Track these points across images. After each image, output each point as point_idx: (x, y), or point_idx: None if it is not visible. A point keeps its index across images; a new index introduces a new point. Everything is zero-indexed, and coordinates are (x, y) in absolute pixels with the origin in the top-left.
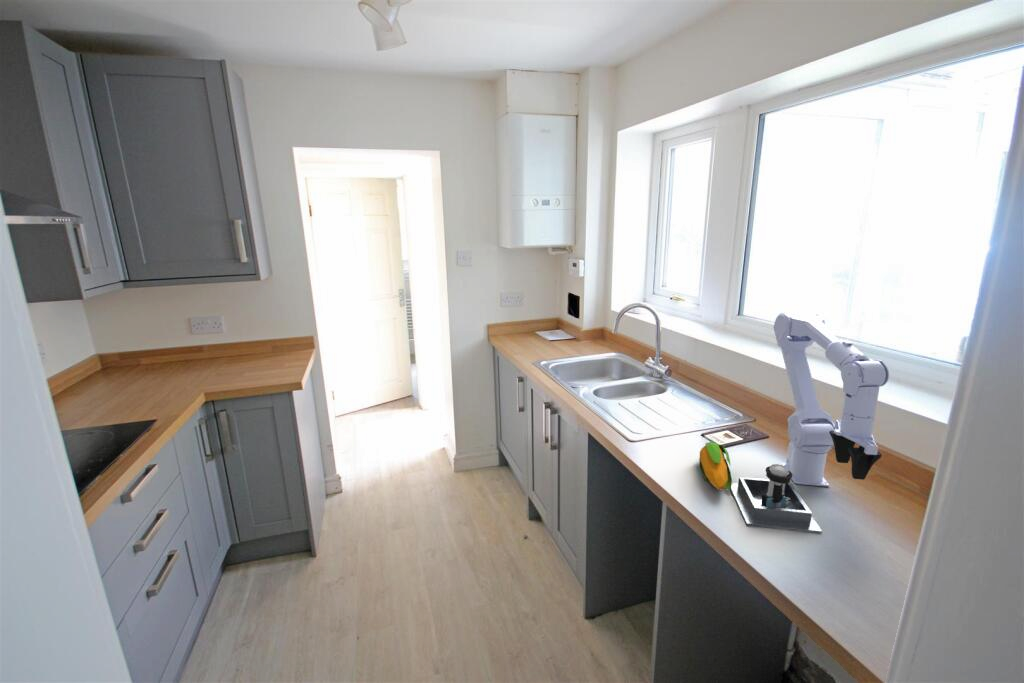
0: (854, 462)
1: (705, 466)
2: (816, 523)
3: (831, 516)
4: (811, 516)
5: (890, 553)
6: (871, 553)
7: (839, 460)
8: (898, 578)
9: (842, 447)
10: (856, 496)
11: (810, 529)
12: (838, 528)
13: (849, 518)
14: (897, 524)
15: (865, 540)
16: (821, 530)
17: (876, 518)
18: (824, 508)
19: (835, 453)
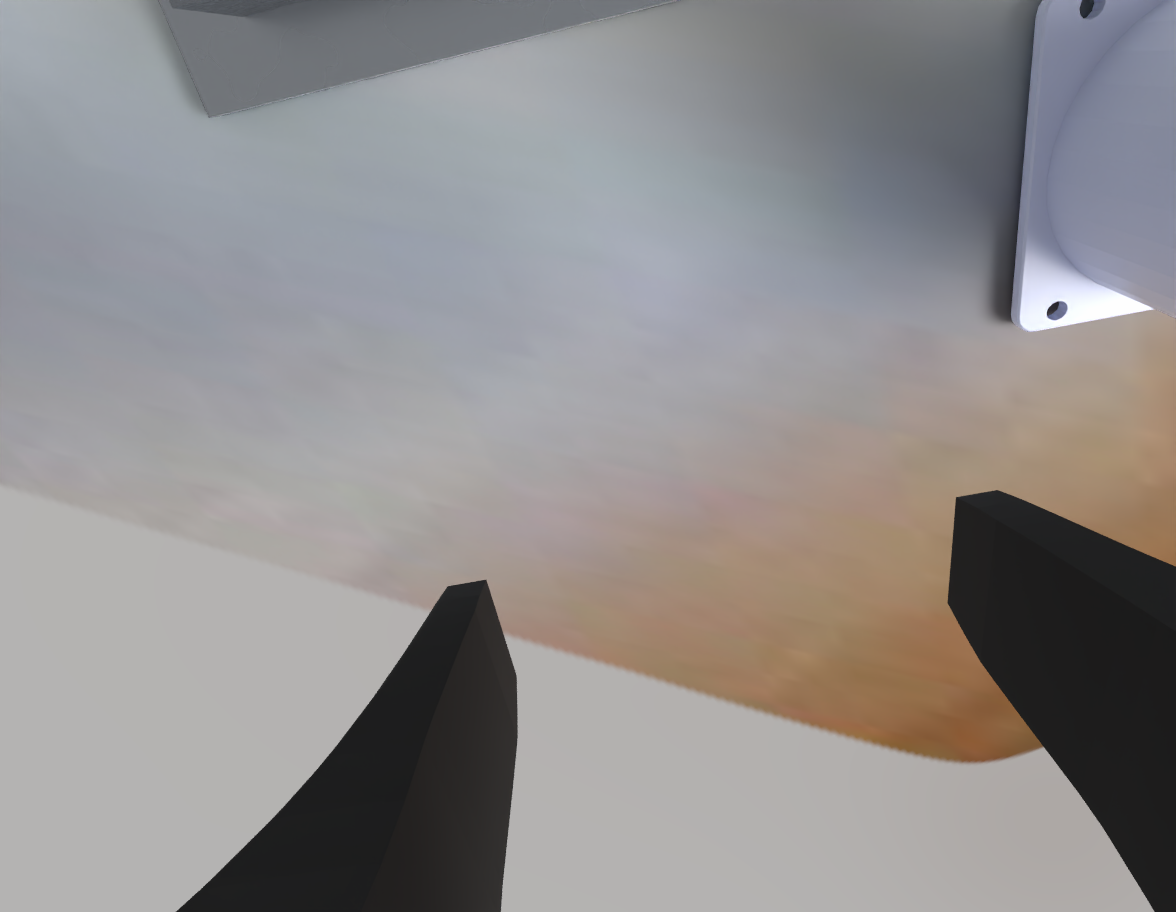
0: (272, 824)
1: None
2: (305, 88)
3: (533, 251)
4: (195, 10)
5: (257, 509)
6: (184, 411)
7: (973, 532)
8: (21, 486)
9: (1162, 732)
10: (892, 484)
11: (169, 8)
12: (377, 269)
13: (560, 375)
14: (605, 614)
15: (319, 412)
16: (214, 114)
17: (631, 531)
18: (640, 218)
19: (1103, 538)
